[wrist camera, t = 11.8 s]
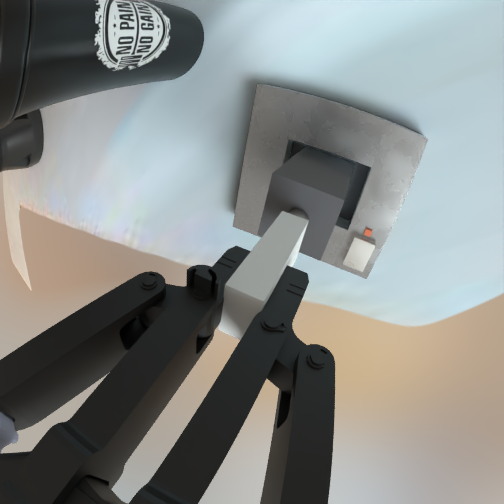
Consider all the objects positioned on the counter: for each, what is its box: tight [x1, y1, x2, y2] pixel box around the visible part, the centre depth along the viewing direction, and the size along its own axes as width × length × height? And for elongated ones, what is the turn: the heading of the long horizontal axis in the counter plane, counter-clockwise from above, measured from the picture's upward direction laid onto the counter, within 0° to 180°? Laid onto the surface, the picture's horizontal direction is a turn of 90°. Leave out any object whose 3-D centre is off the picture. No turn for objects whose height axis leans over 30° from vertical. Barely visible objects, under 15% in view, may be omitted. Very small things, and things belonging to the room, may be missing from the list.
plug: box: [257, 146, 355, 260], centre depth 20 cm, size 4×4×10 cm
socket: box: [233, 84, 428, 279], centre depth 23 cm, size 14×14×3 cm
